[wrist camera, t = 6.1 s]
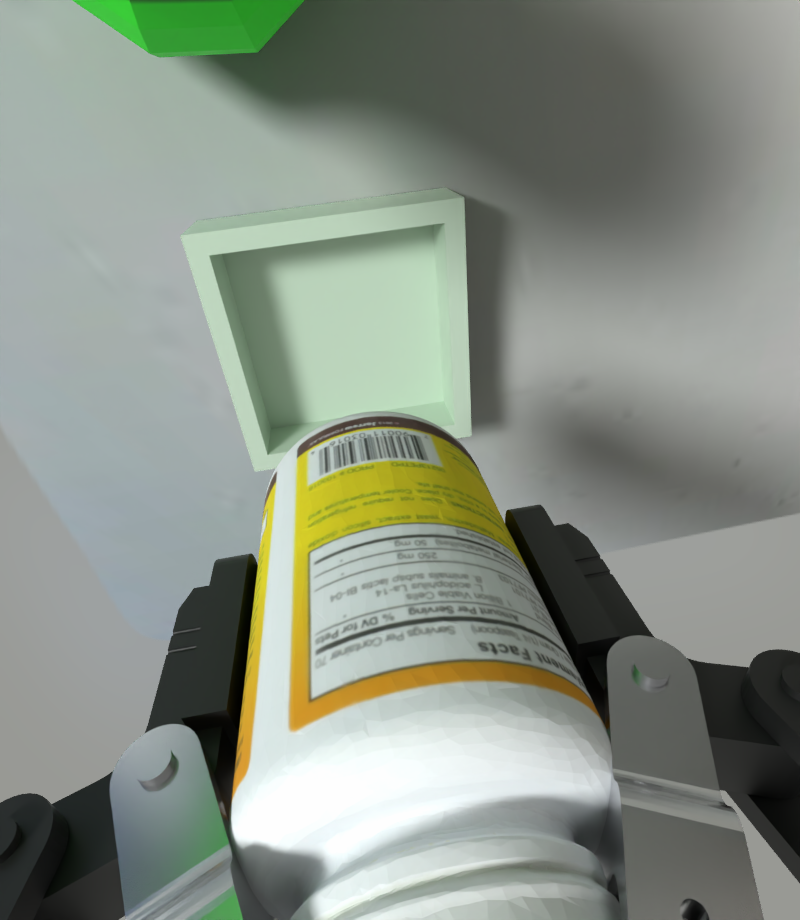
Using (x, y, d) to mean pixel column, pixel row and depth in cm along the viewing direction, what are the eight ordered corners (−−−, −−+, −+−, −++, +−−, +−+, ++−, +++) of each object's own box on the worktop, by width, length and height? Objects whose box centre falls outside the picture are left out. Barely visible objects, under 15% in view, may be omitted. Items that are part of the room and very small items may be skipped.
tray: (445, 187, 22) (464, 197, 20) (456, 405, 28) (471, 435, 26) (196, 221, 22) (180, 235, 19) (260, 436, 28) (254, 471, 25)
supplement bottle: (370, 598, 16) (438, 1146, 7) (219, 500, 13) (57, 1187, 5) (517, 489, 14) (815, 1023, 6) (381, 352, 12) (568, 977, 3)
